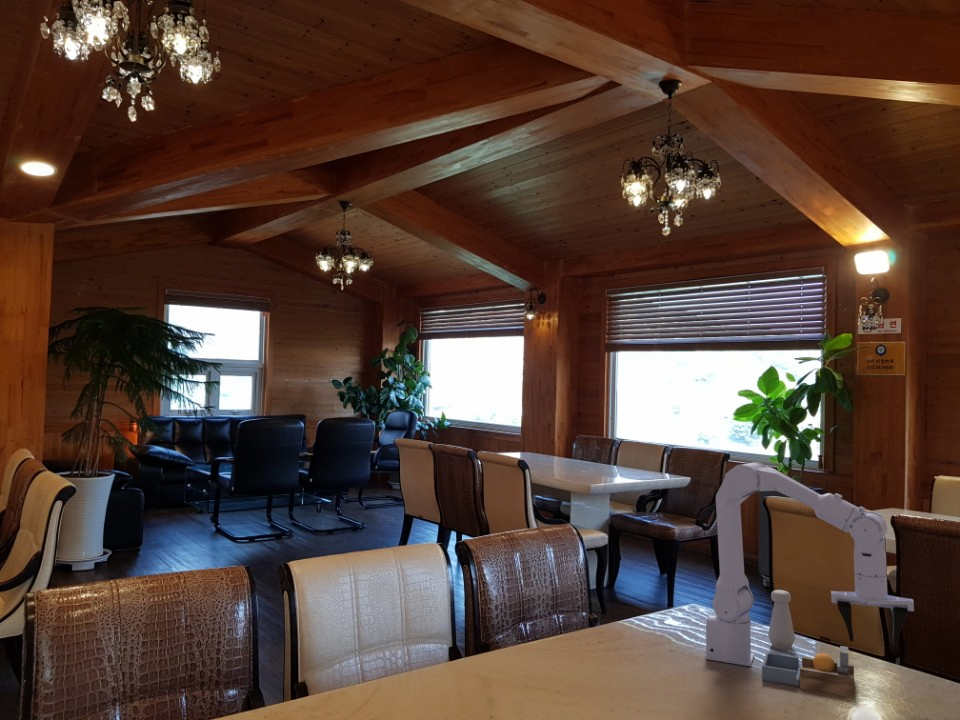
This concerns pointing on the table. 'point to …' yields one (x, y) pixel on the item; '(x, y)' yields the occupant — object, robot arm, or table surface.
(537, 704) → the table surface
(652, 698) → the table surface
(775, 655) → the blue-grey open tray
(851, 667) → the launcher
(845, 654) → the grey stepped block
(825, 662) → the ball
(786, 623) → the salt shaker
